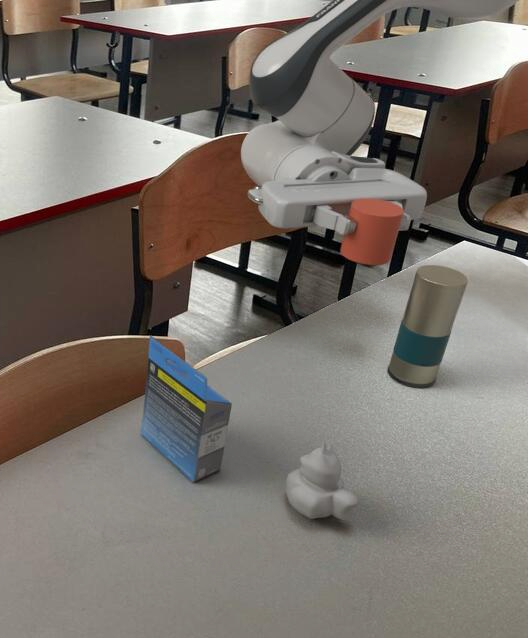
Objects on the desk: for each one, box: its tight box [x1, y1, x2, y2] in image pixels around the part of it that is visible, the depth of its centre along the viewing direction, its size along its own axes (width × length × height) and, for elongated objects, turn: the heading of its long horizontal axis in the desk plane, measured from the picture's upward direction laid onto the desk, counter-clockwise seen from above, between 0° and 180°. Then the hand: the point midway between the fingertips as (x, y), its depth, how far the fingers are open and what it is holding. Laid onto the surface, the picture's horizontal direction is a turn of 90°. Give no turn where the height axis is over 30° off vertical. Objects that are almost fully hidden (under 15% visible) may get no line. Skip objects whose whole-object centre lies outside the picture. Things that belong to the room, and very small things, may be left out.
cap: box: [340, 199, 404, 266], centre depth 88 cm, size 6×6×6 cm
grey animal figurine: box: [285, 439, 359, 521], centre depth 69 cm, size 5×7×8 cm
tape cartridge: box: [140, 335, 233, 483], centre depth 75 cm, size 9×4×12 cm, turn 31°
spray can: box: [387, 264, 469, 389], centre depth 88 cm, size 5×5×14 cm
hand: (378, 226), depth 87 cm, fingers closed on cap, 5 cm apart
